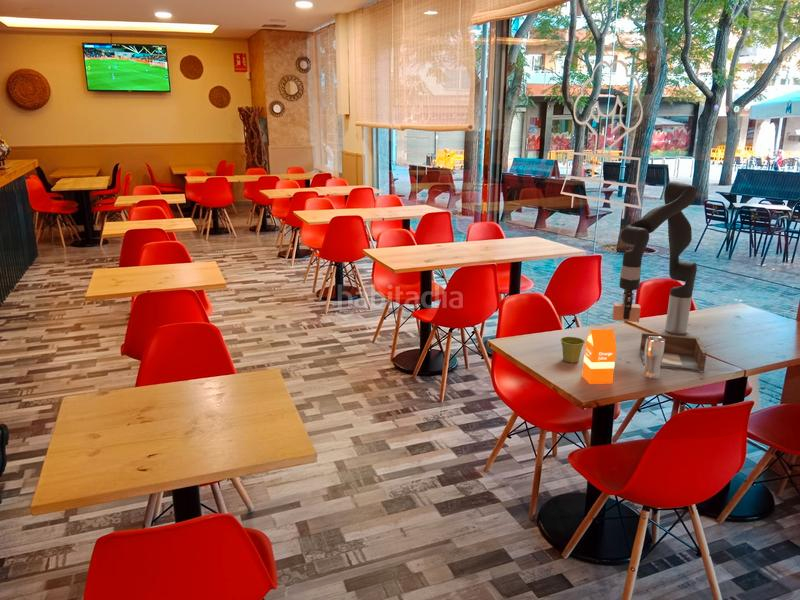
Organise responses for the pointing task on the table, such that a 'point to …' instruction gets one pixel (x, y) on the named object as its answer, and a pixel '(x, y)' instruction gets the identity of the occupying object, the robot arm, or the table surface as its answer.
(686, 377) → the table surface
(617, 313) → the terracotta bar
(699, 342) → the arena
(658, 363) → the beer glass
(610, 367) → the orange juice
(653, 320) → the table surface
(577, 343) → the plant pot
